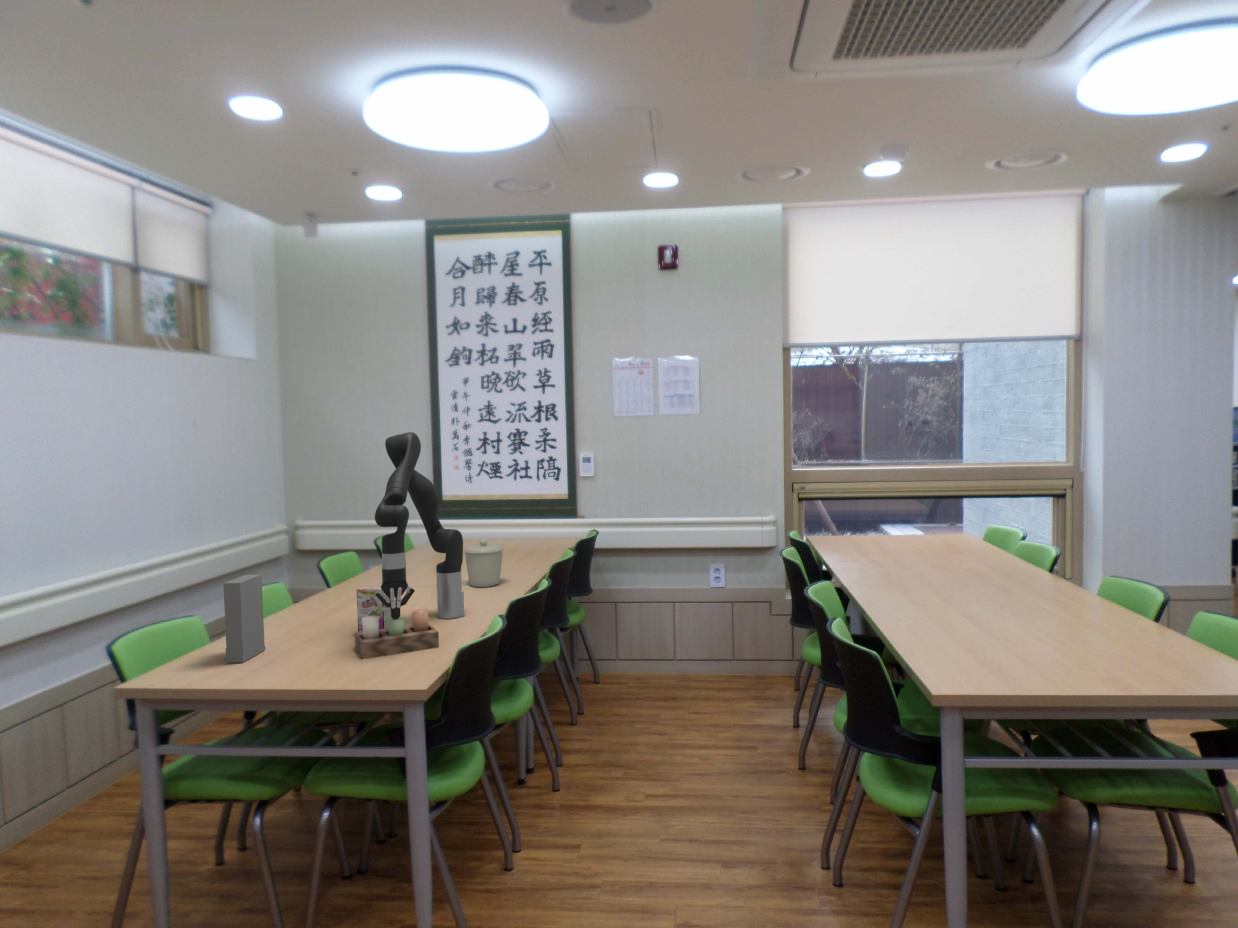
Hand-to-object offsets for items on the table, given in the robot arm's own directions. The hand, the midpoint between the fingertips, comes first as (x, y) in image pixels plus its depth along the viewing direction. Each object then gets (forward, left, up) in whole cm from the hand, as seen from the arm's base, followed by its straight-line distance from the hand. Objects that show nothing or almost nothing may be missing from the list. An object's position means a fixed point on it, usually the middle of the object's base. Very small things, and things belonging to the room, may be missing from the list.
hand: (395, 618), depth 253 cm
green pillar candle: (0, 0, -7) cm, 7 cm away
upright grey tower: (+44, -16, -10) cm, 48 cm away
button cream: (+8, 0, -6) cm, 10 cm away
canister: (-57, -81, -10) cm, 100 cm away
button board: (0, 0, -9) cm, 9 cm away
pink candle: (-8, 0, -6) cm, 10 cm away
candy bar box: (+3, -20, -10) cm, 22 cm away
